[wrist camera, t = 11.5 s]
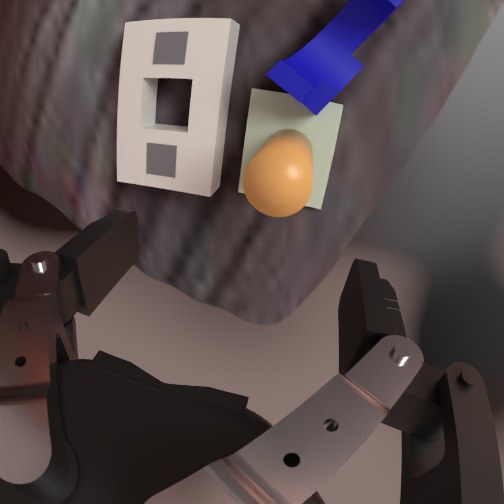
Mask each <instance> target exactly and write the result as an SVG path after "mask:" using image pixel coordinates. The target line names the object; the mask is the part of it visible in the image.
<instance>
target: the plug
mask: <svg viewBox="0 0 504 504" xmlns="http://www.w3.org/2000/svg"><path fill="white" fill-rule="evenodd" d="M312 184H313V149H312V145H311V142H310V141H309V139H308V138H307V137H306V136H305V135H304V134H303V133H301V132H300V131H297V130H294V129H283V130H280V131H278V132H276V133H274V134H273V135H272V136H271V137H270V138H269V140H268V141H267V142H266V143H265V145H264V146H263V147H262V148H261V149H260V151H259V152H258V153H257V154H256V156H255V157H254V158H253V159H252V160H251V162H250V163H249V164H248V166H247V167H246V169H245V172H244V175H243V190H244V193H245V195H246V198H247V199H248V201H249V202H250V204H251V205H252V206H253V207H254V208H255V209H257V210H258V211H260V212H261V213H264V214H266V215H269V216H274V217H284V216H289V215H292V214H294V213H296V212H298V211H299V210H301V209H302V208H303V207H304V206H305V205H306V203H307V202H308V200H309V198H310V196H311V193H312Z"/></svg>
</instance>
